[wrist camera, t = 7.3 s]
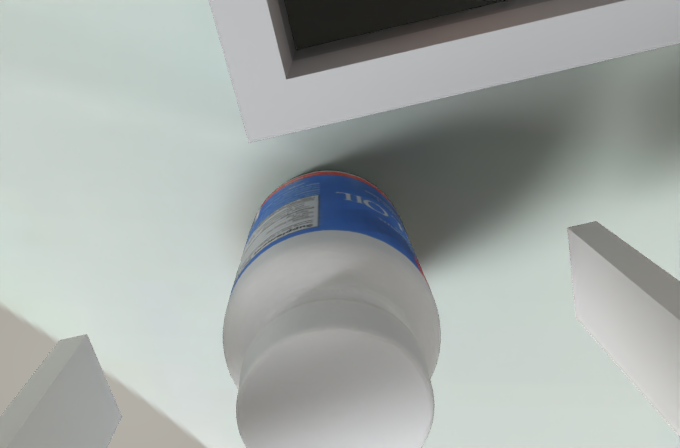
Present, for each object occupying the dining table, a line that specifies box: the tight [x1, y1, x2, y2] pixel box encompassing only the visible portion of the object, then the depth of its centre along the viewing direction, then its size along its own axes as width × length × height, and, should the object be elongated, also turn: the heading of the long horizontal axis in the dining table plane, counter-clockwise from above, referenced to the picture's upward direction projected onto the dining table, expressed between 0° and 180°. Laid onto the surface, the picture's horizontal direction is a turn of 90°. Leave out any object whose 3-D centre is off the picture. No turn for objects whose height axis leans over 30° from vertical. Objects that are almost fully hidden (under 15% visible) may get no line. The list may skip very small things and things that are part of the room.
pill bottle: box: [223, 171, 441, 448], centre depth 16 cm, size 6×5×10 cm
